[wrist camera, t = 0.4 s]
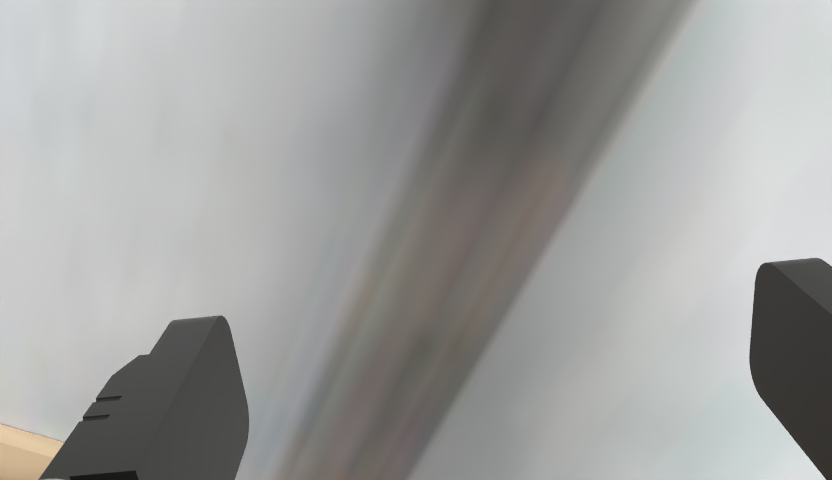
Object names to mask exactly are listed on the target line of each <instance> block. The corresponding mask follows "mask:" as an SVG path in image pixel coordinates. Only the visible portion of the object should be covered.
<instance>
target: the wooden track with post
mask: <svg viewBox="0 0 832 480" xmlns="http://www.w3.org/2000/svg"><path fill="white" fill-rule="evenodd" d="M63 444H64V442H60V441H57V440H54V439H50V438H47V437H43V436H40V435H36V434H33V433H29V432H26V431H23V430H19V429H16V428H12V427H9V426H5V425H2V424H0V480H38V479H39V478H40V476H41V475H42V474H43V472H44V471H45V469H46V468H47V467H48V465H49V464H50V462H51V461H52V460H53V458H54V457H55V455H56V454H57V453H58V451H59V450H60V448H61V447H62V445H63Z"/></svg>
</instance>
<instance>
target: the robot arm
mask: <svg viewBox="0 0 832 480" xmlns="http://www.w3.org/2000/svg"><path fill="white" fill-rule="evenodd" d="M749 359H750V370H751V375H752V379H753V382H754V385H755V387H756V390H757V392H758V394H759V395H760V397H761V398H762V400H763V401H764V402H765V403H766V405H767V406H768V407H769V408H770V410H771V411H772V412H773V413H774V415H775V416H776V417H777V418H778V420H779V421H780V422H781V423H782V425H783V426H784V427H785V428H786V430H787V431H788V432H789V434H790V435H791V436H792V437H793V439H794V440H795V441H796V442H797V444H798V445H799V446H800V447H801V449H802V450H803V451H804V452H805V454H806V455H807V456H808V457H809V459H810V460H811V461H812V462H813V464H814V465H815V466H816V467H817V469H818V470H819V471H820V472H821V474H822V475H823V476H824V477H825V479H826V480H832V266H830V265H829V264H827V263H826V262H825V261H823V260H822V259H819V258H809V259H799V260H789V261H779V262H769V263H764V264H762V265H761V266H760V268H759V269H758V272H757V275H756V280H755V291H754V303H753V316H752V329H751V342H750V357H749ZM248 432H249V413H248V405H247V399H246V395H245V391H244V386H243V382H242V378H241V373H240V369H239V365H238V360H237V356H236V352H235V347H234V343H233V339H232V334H231V330H230V327H229V324H228V322H227V320H226V319H225V317H223V316H212V317H202V318H192V319H181V320H173V321H172V322H171V323H170V324H169V325H168V327H167V328H166V330H165V331H164V333H163V334H162V336H161V337H160V339H159V340H158V342H157V343H156V345H155V347H154V348H153V350H152V351H151V353H150V354H149V355H139V356H138V357H136V358H135V359H134V360H132V361H131V362H130V363H128V364H127V365H126V366H124V367H123V368H122V369H120V370H119V371H118V372H116V373H115V374H114V375H112V376H111V378H110V379H109V381H108V382H107V384H106V385H105V386H104V388H103V389H102V391H101V392H100V393H99V395H98V396H97V398H96V402H95V403H92V405H91V406H90V407H89V409H88V410H87V412H86V413H85V414H84V416H83V421H82V422H79V423H78V424H77V426H76V427H75V429H74V430H73V431H72V433H71V434H70V436H69V437H68V438H67V440H66V441H65V443H64V444H63V445H62V447H61V448H60V450H59V451H58V453H57V454H56V455H55V457H54V458H53V460H52V461H51V462H50V464H49V465H48V467H47V468H46V469H45V471H44V472H43V474H42V475H41V476H40V478H39V479H38V480H235V477H236V474H237V471H238V468H239V465H240V462H241V459H242V456H243V453H244V450H245V447H246V444H247V439H248Z"/></svg>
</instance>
